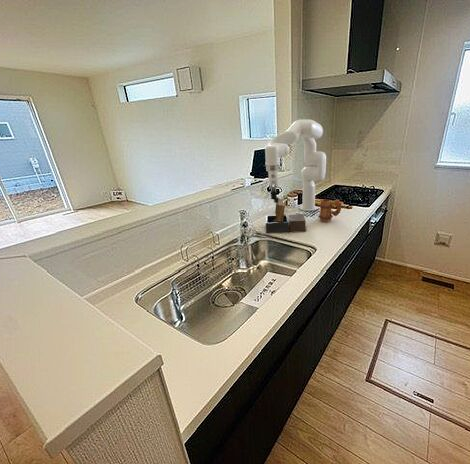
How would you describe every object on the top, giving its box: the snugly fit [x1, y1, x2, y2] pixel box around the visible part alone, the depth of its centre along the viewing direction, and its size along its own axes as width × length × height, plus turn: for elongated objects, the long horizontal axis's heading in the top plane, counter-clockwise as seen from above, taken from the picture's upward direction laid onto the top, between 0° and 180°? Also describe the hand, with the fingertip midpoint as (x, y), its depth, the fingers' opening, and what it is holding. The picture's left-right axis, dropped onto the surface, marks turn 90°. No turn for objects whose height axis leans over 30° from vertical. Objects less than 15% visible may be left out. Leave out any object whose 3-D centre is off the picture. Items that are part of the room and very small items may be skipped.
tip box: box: [273, 196, 286, 222], centre depth 153 cm, size 13×13×7 cm
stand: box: [287, 213, 307, 233], centre depth 157 cm, size 12×10×7 cm
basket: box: [265, 214, 290, 234], centre depth 157 cm, size 14×14×7 cm
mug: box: [317, 198, 343, 223], centre depth 165 cm, size 15×8×15 cm, turn 74°
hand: (273, 196), depth 150 cm, fingers open, 9 cm apart
